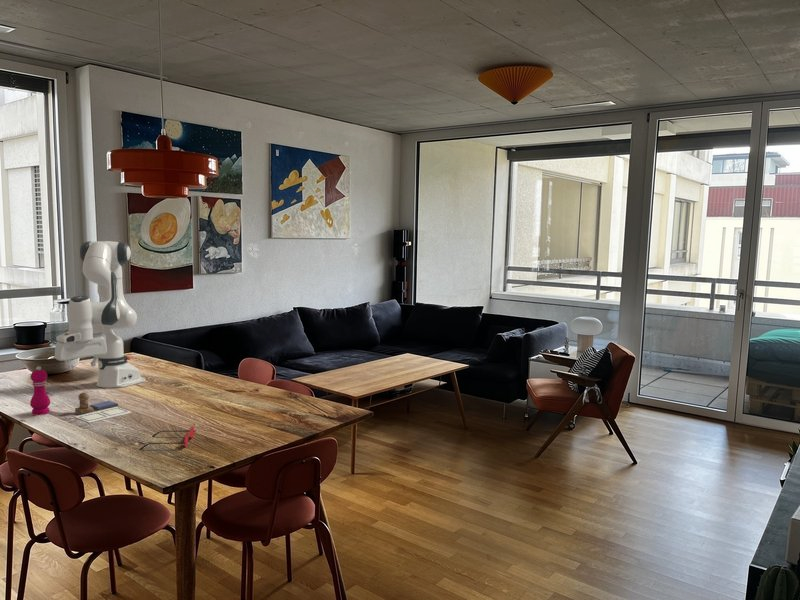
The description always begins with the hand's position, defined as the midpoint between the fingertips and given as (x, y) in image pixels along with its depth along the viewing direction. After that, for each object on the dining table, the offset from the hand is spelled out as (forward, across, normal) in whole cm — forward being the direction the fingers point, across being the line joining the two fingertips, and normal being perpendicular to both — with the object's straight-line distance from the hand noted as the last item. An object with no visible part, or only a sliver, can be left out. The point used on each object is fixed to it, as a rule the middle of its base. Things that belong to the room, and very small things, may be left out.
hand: (82, 367), depth 253 cm
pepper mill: (+19, +12, -12) cm, 26 cm away
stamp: (+19, 0, 0) cm, 19 cm away
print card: (+19, -3, +10) cm, 22 cm away
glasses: (+20, -1, +59) cm, 62 cm away
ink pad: (+19, -9, -1) cm, 21 cm away
